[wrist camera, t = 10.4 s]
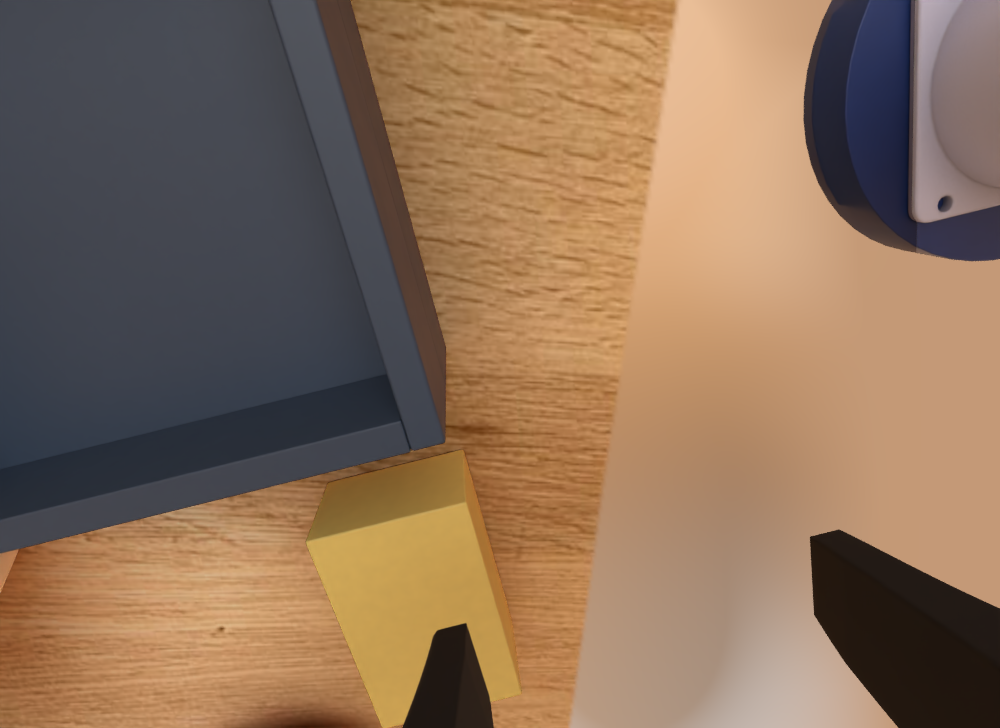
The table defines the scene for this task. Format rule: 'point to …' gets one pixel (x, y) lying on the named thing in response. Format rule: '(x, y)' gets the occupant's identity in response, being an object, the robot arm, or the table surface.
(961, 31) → the robot arm
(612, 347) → the table surface
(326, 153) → the bin
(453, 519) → the notepads
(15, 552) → the mug
